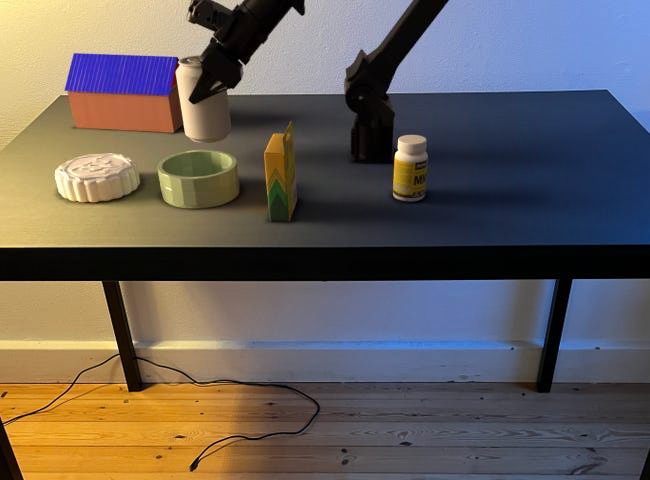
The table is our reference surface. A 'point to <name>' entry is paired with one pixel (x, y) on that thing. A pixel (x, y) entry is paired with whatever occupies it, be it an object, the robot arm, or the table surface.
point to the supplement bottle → (410, 168)
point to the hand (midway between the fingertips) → (194, 94)
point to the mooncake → (97, 177)
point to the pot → (199, 179)
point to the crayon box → (281, 175)
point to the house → (124, 92)
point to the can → (201, 106)
